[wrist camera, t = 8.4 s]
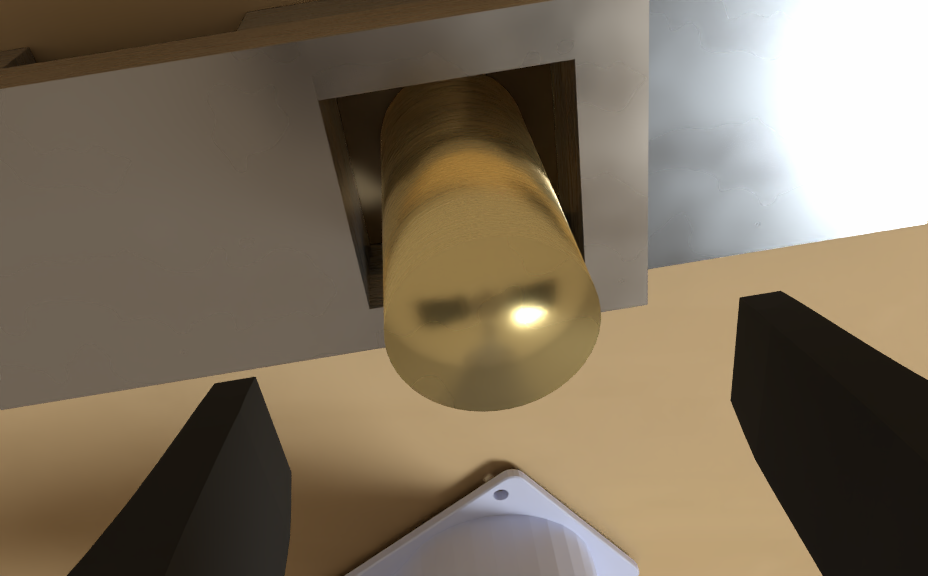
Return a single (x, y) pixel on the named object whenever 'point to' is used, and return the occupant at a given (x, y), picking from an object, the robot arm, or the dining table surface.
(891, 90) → the gray slotted block
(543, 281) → the pin
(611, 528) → the dining table surface
